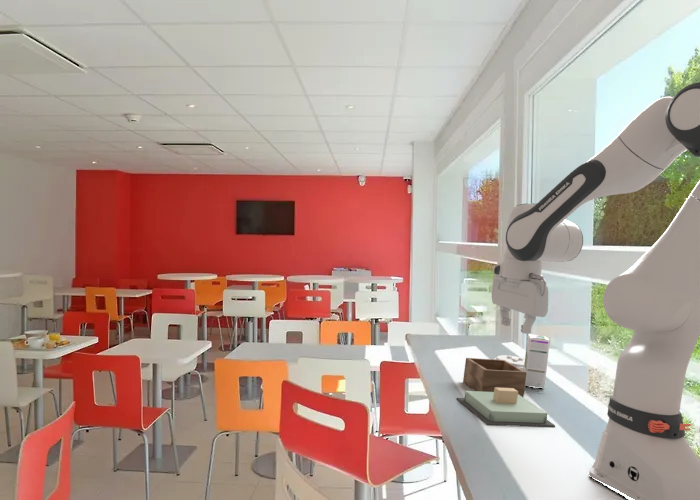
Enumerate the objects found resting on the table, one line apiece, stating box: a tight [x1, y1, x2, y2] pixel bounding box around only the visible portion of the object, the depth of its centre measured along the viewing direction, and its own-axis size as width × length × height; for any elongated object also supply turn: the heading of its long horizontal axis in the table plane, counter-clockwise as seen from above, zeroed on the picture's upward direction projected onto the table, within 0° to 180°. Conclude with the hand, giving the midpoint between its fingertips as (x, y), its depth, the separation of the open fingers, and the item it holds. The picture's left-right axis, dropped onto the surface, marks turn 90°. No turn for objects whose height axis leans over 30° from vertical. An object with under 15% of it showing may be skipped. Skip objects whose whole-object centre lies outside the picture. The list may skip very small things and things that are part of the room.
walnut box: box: [462, 357, 527, 398], centre depth 153 cm, size 12×12×7 cm
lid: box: [493, 354, 525, 371], centre depth 175 cm, size 13×13×5 cm
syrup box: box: [524, 333, 551, 389], centre depth 162 cm, size 6×6×14 cm
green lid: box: [463, 387, 548, 423], centre depth 134 cm, size 14×14×5 cm
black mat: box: [456, 397, 556, 428], centre depth 135 cm, size 17×17×1 cm
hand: (515, 329), depth 133 cm, fingers open, 8 cm apart
